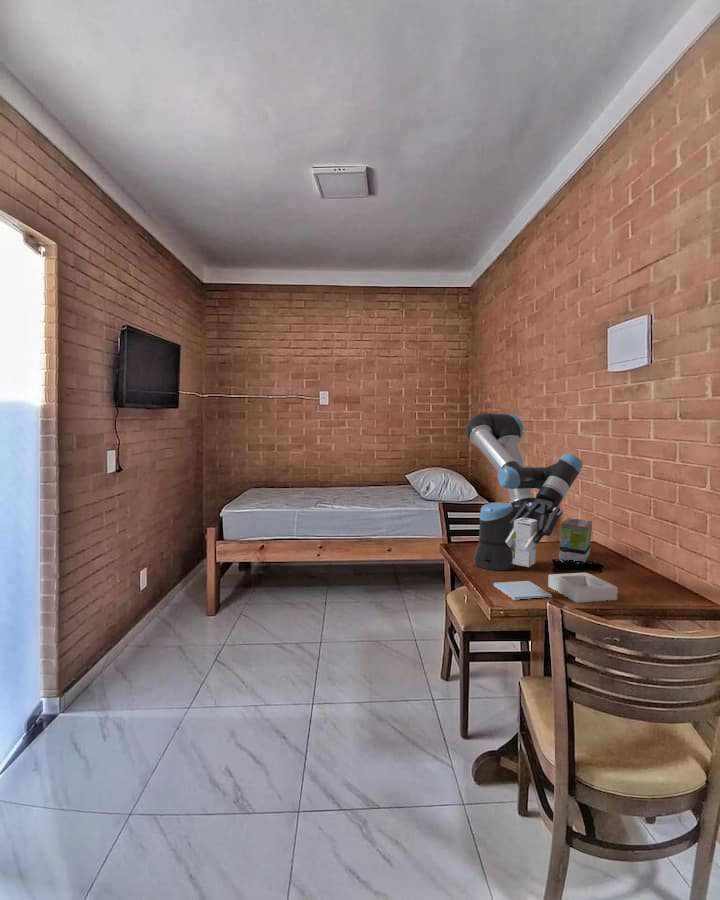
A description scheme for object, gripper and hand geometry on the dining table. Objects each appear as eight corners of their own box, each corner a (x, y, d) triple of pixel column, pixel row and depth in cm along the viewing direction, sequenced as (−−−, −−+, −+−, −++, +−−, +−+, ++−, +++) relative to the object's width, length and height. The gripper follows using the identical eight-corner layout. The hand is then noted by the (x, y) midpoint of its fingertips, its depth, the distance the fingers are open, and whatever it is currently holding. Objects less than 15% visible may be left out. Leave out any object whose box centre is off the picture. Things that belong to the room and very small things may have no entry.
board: (493, 585, 161) (493, 582, 161) (528, 583, 164) (528, 580, 164) (514, 600, 149) (514, 597, 149) (551, 597, 152) (551, 594, 151)
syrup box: (518, 560, 160) (519, 516, 159) (536, 564, 156) (538, 519, 155) (511, 564, 155) (513, 519, 154) (529, 567, 151) (531, 522, 150)
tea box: (585, 563, 189) (587, 526, 188) (558, 559, 195) (560, 523, 193) (590, 555, 202) (592, 520, 201) (564, 550, 207) (566, 516, 206)
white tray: (548, 586, 162) (548, 574, 162) (585, 584, 165) (586, 572, 165) (576, 602, 148) (577, 589, 148) (617, 599, 151) (617, 587, 151)
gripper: (583, 505, 154) (549, 562, 146) (531, 496, 171) (498, 547, 163) (574, 489, 151) (539, 547, 143) (522, 481, 168) (488, 533, 160)
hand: (517, 547), depth 153 cm, fingers closed on syrup box, 7 cm apart
